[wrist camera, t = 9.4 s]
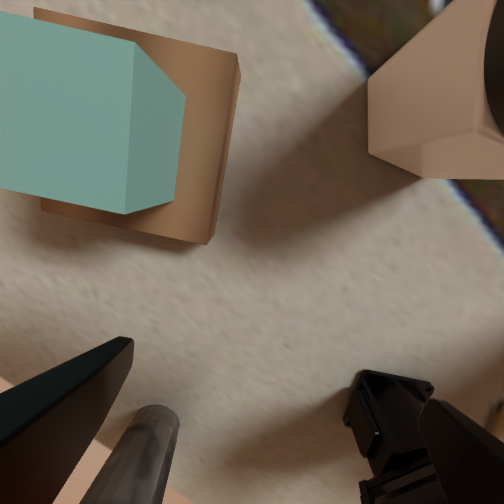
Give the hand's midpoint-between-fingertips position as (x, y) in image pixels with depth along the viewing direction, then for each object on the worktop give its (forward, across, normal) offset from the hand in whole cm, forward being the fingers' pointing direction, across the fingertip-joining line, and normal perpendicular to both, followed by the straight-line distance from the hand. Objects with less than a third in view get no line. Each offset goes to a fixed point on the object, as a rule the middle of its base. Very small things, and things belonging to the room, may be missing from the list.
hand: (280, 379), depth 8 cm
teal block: (+10, +10, -6) cm, 15 cm away
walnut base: (+13, +10, -6) cm, 17 cm away
